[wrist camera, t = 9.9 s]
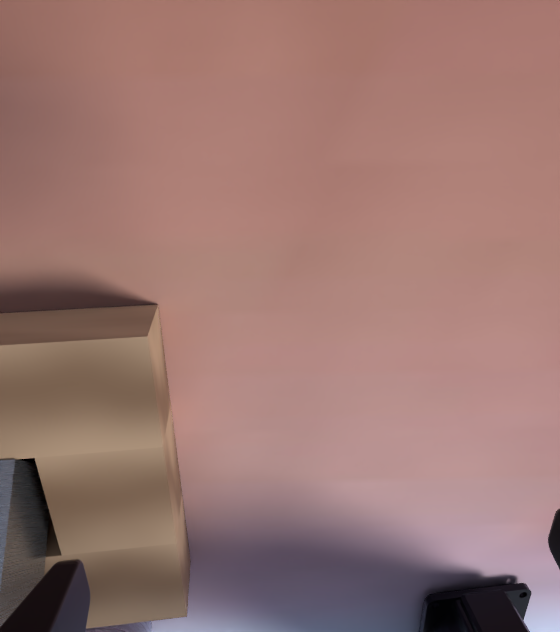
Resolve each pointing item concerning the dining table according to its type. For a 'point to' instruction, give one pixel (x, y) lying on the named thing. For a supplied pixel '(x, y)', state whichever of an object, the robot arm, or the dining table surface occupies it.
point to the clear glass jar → (124, 628)
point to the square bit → (21, 532)
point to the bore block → (100, 452)
